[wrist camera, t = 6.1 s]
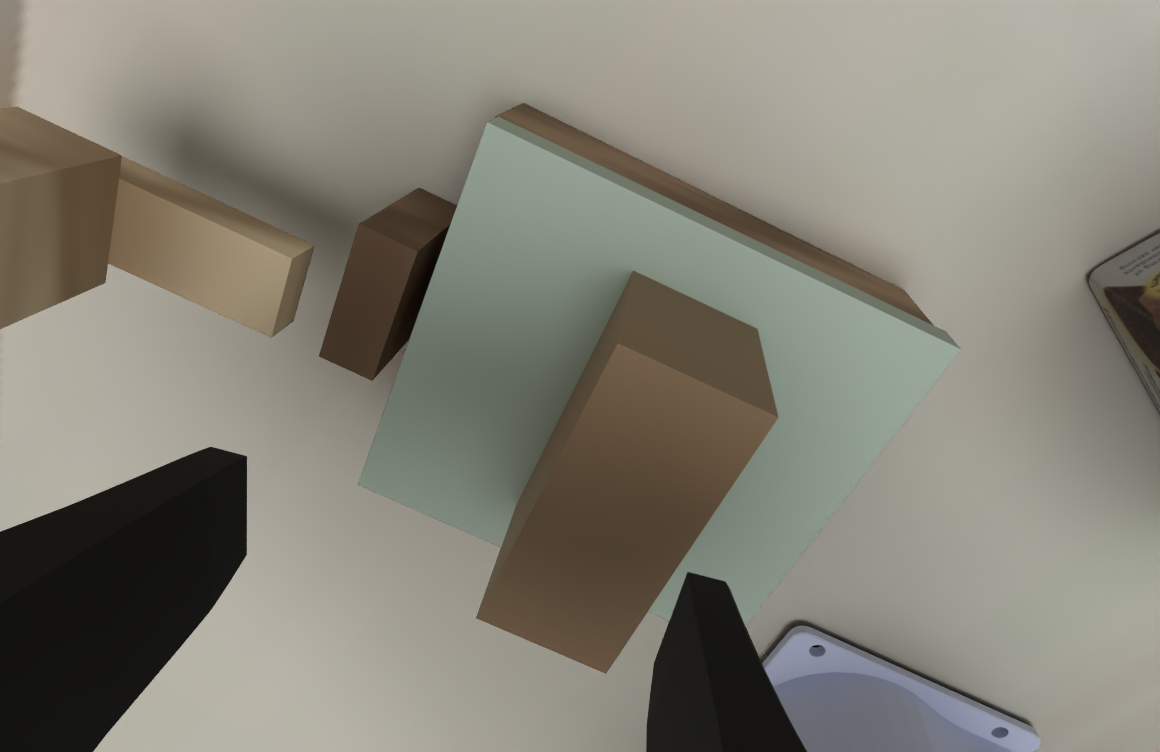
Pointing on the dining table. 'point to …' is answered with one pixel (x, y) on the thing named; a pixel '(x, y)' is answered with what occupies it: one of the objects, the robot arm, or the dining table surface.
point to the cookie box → (1134, 307)
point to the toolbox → (421, 222)
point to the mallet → (130, 232)
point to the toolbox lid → (632, 397)
